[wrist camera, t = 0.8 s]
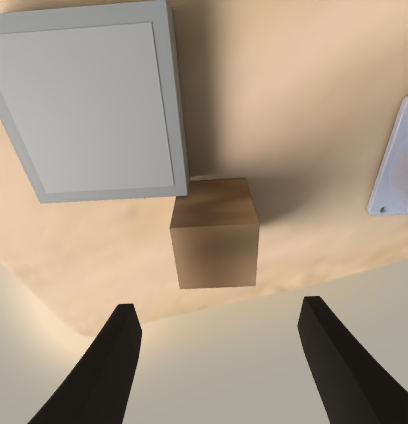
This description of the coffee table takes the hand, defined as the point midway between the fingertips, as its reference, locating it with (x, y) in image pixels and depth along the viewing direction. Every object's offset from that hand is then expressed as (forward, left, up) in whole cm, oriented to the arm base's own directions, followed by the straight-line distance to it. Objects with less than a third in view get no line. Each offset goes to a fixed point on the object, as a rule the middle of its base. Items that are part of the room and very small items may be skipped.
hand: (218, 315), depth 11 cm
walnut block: (0, 0, -9) cm, 9 cm away
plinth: (+6, -7, -9) cm, 13 cm away
